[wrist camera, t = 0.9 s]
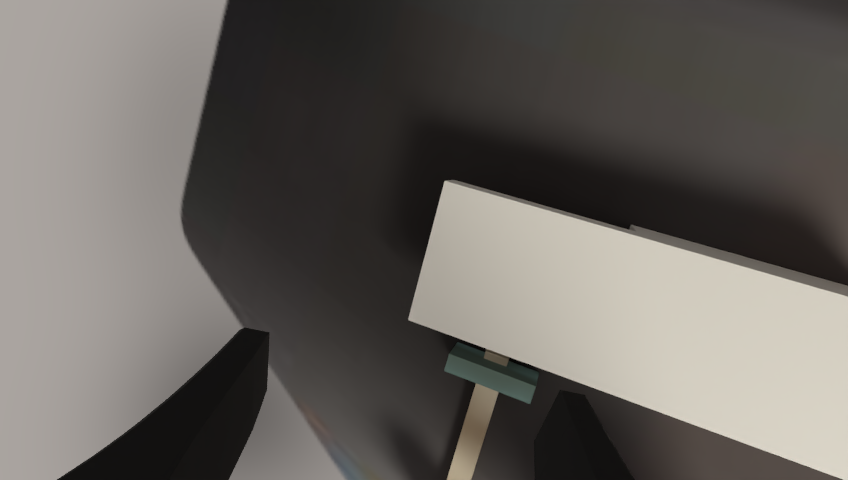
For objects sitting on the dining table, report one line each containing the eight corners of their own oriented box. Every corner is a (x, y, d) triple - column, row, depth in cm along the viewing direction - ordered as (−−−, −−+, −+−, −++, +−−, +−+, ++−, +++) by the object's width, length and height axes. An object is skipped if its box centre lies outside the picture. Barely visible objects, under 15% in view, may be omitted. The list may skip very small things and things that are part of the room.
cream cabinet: (804, 425, 28) (854, 483, 23) (435, 296, 34) (408, 320, 29) (867, 291, 27) (935, 321, 21) (467, 178, 32) (444, 180, 27)
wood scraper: (483, 540, 35) (461, 619, 29) (410, 506, 37) (374, 575, 30) (541, 365, 32) (531, 412, 26) (459, 335, 34) (431, 373, 27)
